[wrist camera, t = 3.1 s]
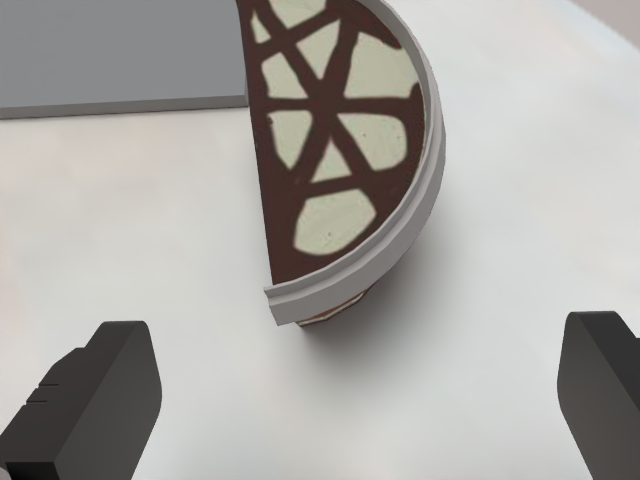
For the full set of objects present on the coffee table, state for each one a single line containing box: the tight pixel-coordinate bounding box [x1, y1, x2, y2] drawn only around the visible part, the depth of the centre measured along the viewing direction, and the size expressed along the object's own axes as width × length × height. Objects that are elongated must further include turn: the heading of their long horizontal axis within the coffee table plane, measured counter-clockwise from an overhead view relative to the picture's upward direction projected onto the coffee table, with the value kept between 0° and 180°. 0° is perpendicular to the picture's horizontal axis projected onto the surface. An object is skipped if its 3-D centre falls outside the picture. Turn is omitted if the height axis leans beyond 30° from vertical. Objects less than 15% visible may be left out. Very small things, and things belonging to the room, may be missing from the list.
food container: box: [235, 0, 446, 327], centre depth 21 cm, size 12×6×10 cm, turn 8°
